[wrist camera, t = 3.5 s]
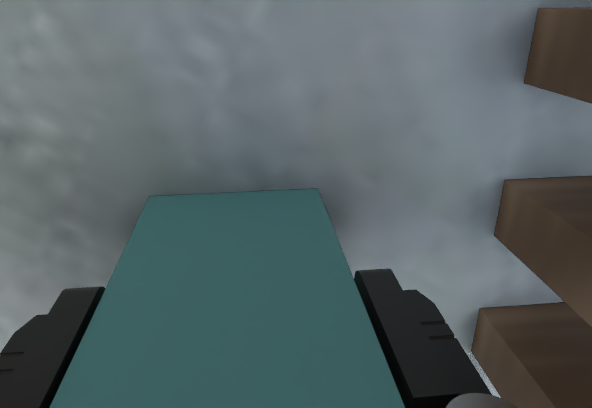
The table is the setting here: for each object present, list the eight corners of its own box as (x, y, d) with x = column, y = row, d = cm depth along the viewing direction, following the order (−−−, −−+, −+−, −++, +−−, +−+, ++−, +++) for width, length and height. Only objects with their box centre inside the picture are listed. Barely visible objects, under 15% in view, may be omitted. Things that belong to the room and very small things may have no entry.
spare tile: (149, 196, 13) (-46, 609, 4) (317, 188, 14) (459, 545, 5) (158, 254, 14) (9, 706, 5) (316, 245, 15) (437, 644, 6)
